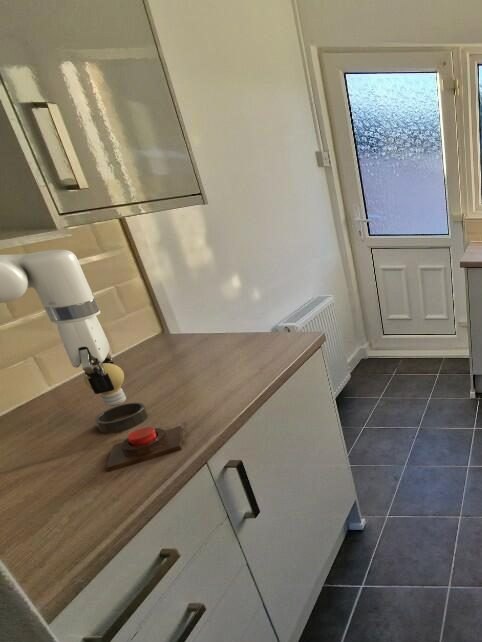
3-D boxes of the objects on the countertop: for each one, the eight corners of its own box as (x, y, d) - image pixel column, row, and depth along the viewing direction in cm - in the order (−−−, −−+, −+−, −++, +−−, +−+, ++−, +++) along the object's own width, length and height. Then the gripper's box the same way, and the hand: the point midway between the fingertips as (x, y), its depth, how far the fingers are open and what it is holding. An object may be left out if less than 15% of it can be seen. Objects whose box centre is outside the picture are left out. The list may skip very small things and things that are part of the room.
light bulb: (106, 413, 92) (88, 374, 88) (92, 407, 94) (73, 368, 90) (140, 399, 97) (124, 361, 93) (125, 393, 99) (109, 356, 95)
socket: (99, 442, 93) (91, 427, 91) (105, 424, 99) (99, 410, 97) (148, 429, 97) (142, 414, 95) (151, 412, 104) (145, 398, 102)
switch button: (129, 449, 86) (126, 442, 86) (132, 438, 90) (129, 431, 89) (156, 441, 89) (153, 434, 88) (157, 431, 92) (155, 424, 91)
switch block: (108, 472, 84) (102, 460, 82) (115, 449, 90) (109, 438, 89) (181, 450, 90) (177, 438, 89) (183, 429, 97) (178, 419, 95)
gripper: (59, 303, 91) (92, 374, 98) (35, 327, 78) (76, 407, 85) (104, 296, 95) (133, 366, 102) (89, 318, 82) (124, 396, 89)
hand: (107, 384), depth 93 cm, fingers closed on light bulb, 6 cm apart
